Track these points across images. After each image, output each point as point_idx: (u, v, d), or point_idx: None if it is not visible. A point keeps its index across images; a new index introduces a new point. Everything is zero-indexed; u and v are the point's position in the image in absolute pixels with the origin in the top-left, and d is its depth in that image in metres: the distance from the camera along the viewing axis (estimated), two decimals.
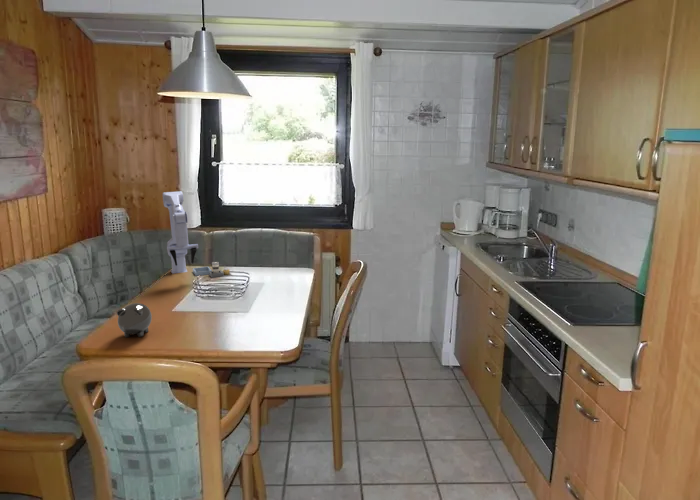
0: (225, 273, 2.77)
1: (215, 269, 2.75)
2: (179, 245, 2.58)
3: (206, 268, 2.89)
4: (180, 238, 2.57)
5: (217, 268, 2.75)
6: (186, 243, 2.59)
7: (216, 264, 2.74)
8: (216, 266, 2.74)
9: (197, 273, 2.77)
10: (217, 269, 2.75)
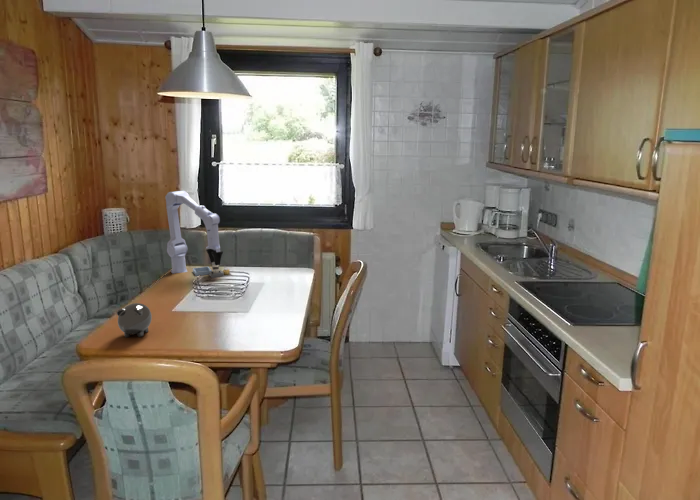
0: (225, 273, 2.77)
1: (215, 269, 2.75)
2: None
3: (206, 268, 2.89)
4: (207, 238, 2.72)
5: (217, 268, 2.75)
6: (210, 244, 2.71)
7: None
8: (216, 266, 2.74)
9: (197, 273, 2.77)
10: (217, 269, 2.75)
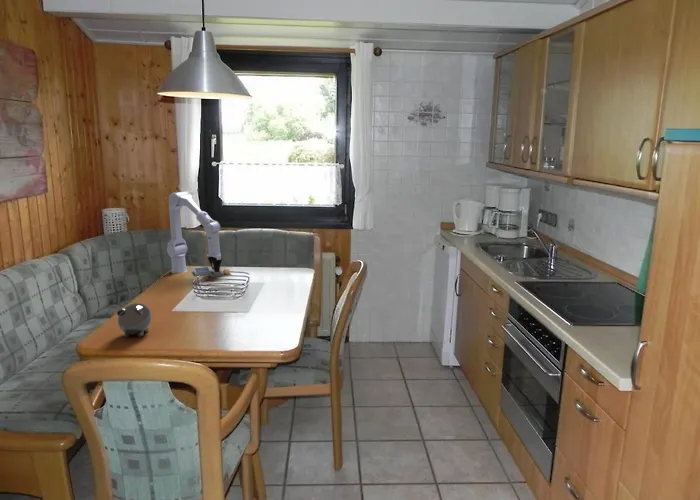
0: (225, 273, 2.77)
1: None
2: None
3: (206, 268, 2.89)
4: (208, 246, 2.73)
5: None
6: (210, 252, 2.72)
7: None
8: None
9: (197, 273, 2.77)
10: None
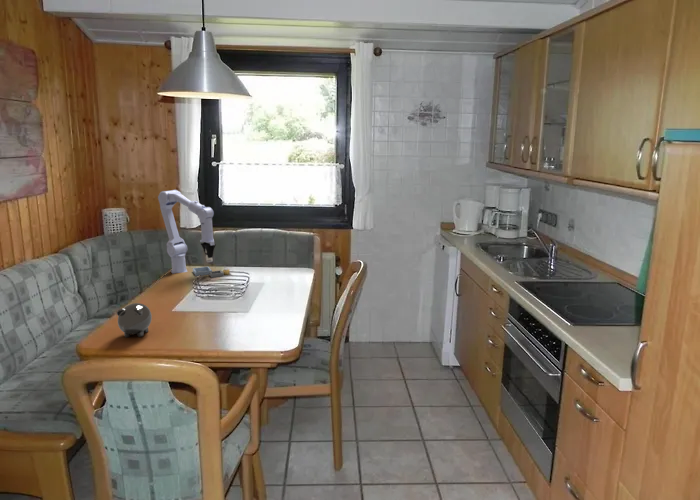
0: (225, 273, 2.77)
1: None
2: None
3: (206, 268, 2.89)
4: (201, 231, 2.74)
5: None
6: (204, 237, 2.73)
7: None
8: None
9: (197, 273, 2.77)
10: None
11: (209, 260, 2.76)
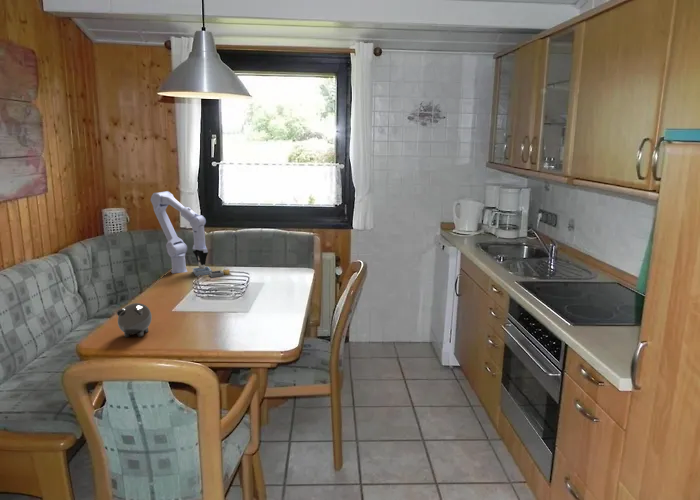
0: (225, 273, 2.77)
1: None
2: None
3: (206, 268, 2.89)
4: None
5: None
6: (196, 245, 2.78)
7: None
8: None
9: (197, 273, 2.77)
10: None
11: (202, 267, 2.81)
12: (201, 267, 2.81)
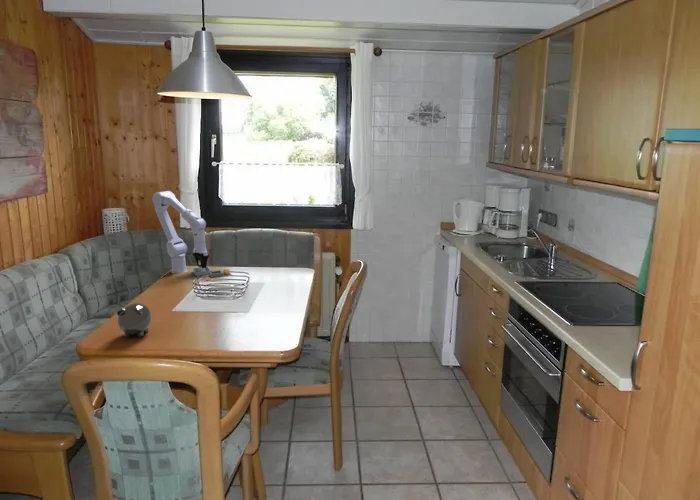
0: (225, 273, 2.77)
1: (201, 267, 2.81)
2: None
3: (206, 268, 2.89)
4: (194, 242, 2.79)
5: None
6: (197, 248, 2.78)
7: None
8: None
9: (197, 273, 2.77)
10: None
11: None
12: None
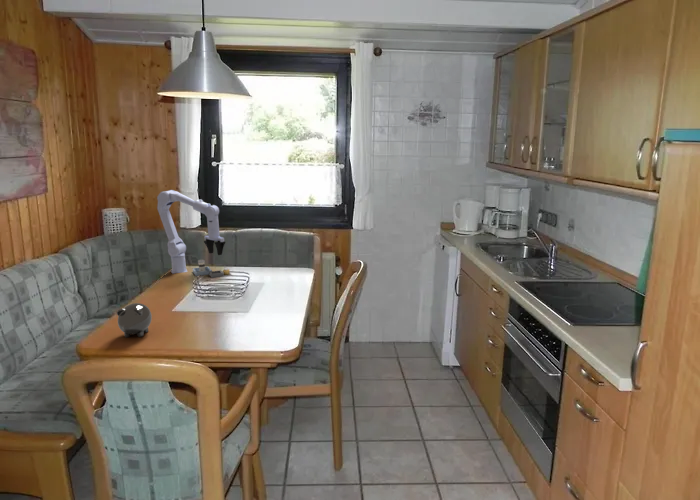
0: (225, 273, 2.77)
1: (201, 267, 2.81)
2: (208, 235, 2.81)
3: (206, 268, 2.89)
4: (208, 229, 2.80)
5: (203, 266, 2.82)
6: (212, 235, 2.79)
7: (202, 262, 2.81)
8: (202, 264, 2.81)
9: (197, 273, 2.77)
10: (203, 266, 2.82)
11: None
12: None
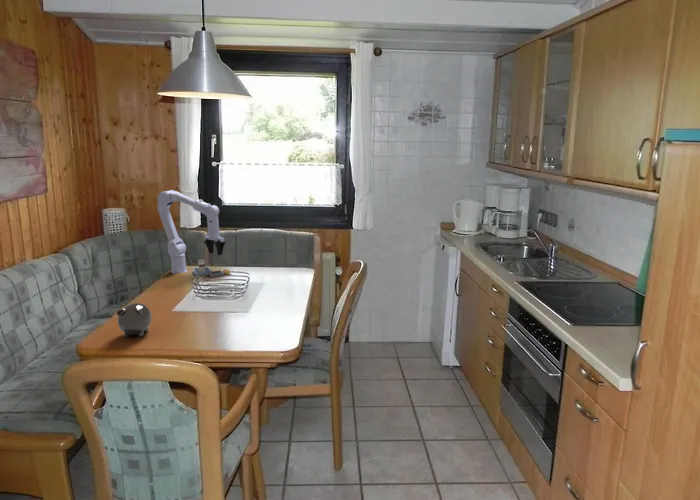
0: (225, 273, 2.77)
1: (201, 267, 2.81)
2: (208, 235, 2.81)
3: (206, 268, 2.89)
4: (208, 229, 2.80)
5: (203, 266, 2.82)
6: (212, 235, 2.79)
7: (202, 262, 2.81)
8: (202, 264, 2.81)
9: (197, 273, 2.77)
10: (203, 266, 2.82)
11: None
12: None
